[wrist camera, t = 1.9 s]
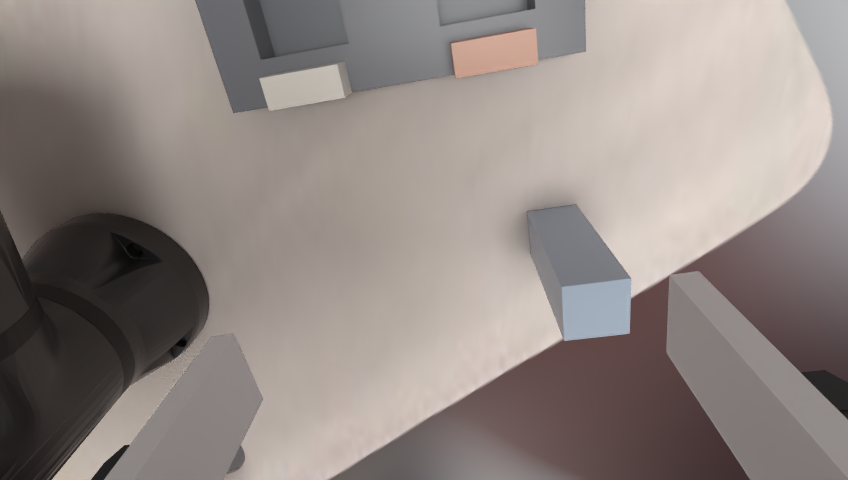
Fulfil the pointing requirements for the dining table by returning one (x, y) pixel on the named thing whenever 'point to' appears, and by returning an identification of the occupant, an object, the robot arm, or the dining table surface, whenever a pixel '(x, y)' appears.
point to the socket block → (376, 43)
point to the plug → (579, 274)
